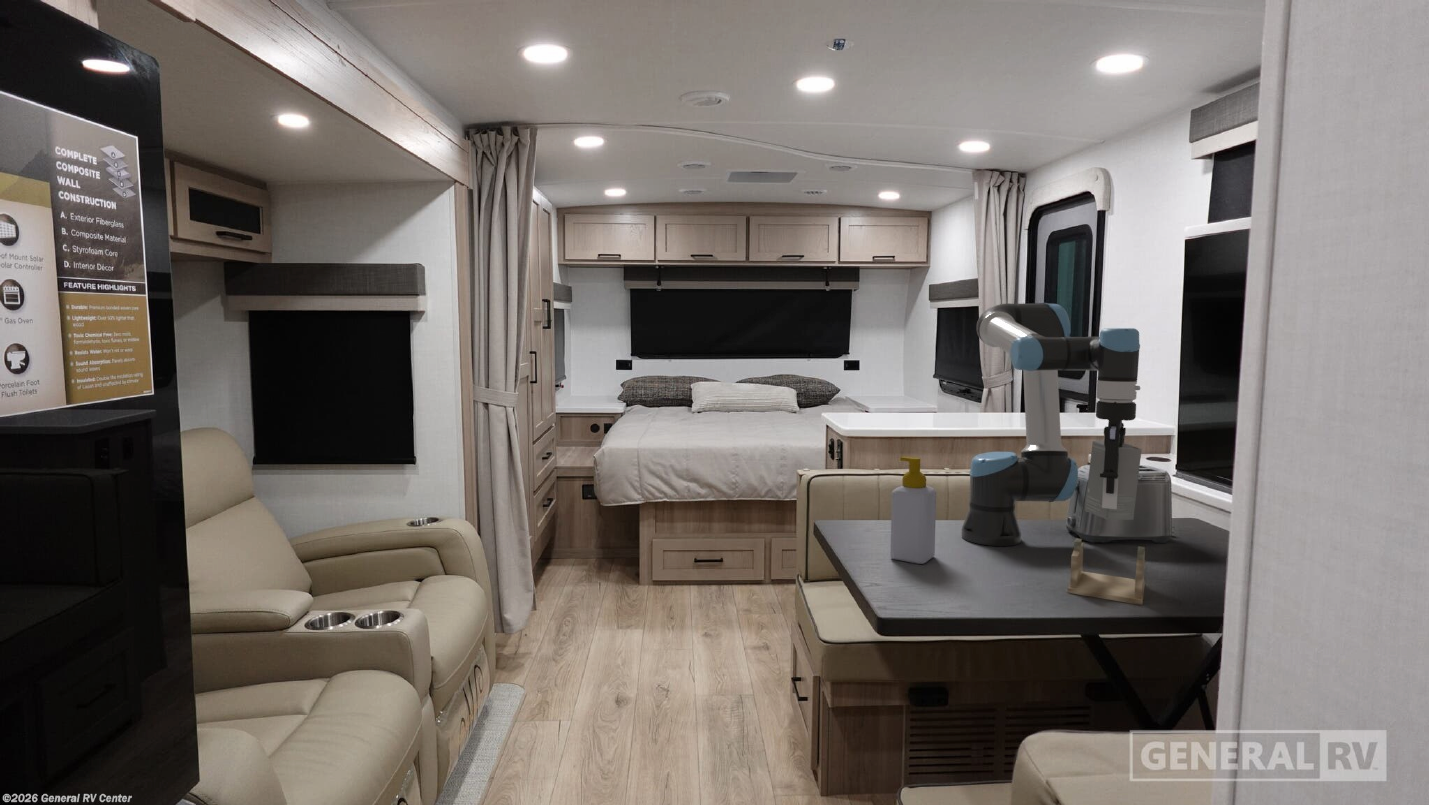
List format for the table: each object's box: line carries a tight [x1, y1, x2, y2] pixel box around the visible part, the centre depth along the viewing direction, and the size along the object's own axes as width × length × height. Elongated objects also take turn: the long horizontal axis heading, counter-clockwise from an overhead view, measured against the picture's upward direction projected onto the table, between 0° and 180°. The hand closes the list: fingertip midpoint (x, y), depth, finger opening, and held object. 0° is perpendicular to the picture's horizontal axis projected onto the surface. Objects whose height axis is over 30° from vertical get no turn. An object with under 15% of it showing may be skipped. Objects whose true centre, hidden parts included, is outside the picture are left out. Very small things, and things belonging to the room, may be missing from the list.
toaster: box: [1065, 464, 1175, 544], centre depth 204 cm, size 17×30×19 cm, turn 88°
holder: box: [1067, 537, 1146, 606], centre depth 164 cm, size 14×14×10 cm
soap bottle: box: [889, 456, 937, 565], centre depth 186 cm, size 9×9×25 cm
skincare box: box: [1085, 440, 1142, 520], centre depth 162 cm, size 8×7×16 cm
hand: (1111, 503), depth 162 cm, fingers closed on skincare box, 10 cm apart
